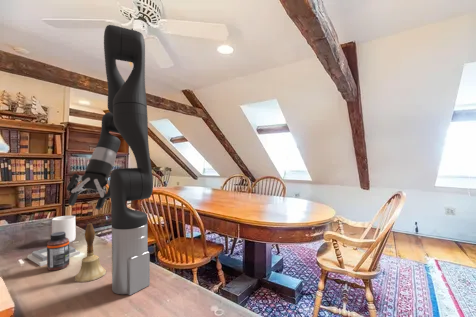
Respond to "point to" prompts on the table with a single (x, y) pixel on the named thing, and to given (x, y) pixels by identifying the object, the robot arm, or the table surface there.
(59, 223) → the mug
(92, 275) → the hand bell
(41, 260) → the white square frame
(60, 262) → the supplement bottle
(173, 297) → the table surface
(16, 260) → the table surface
